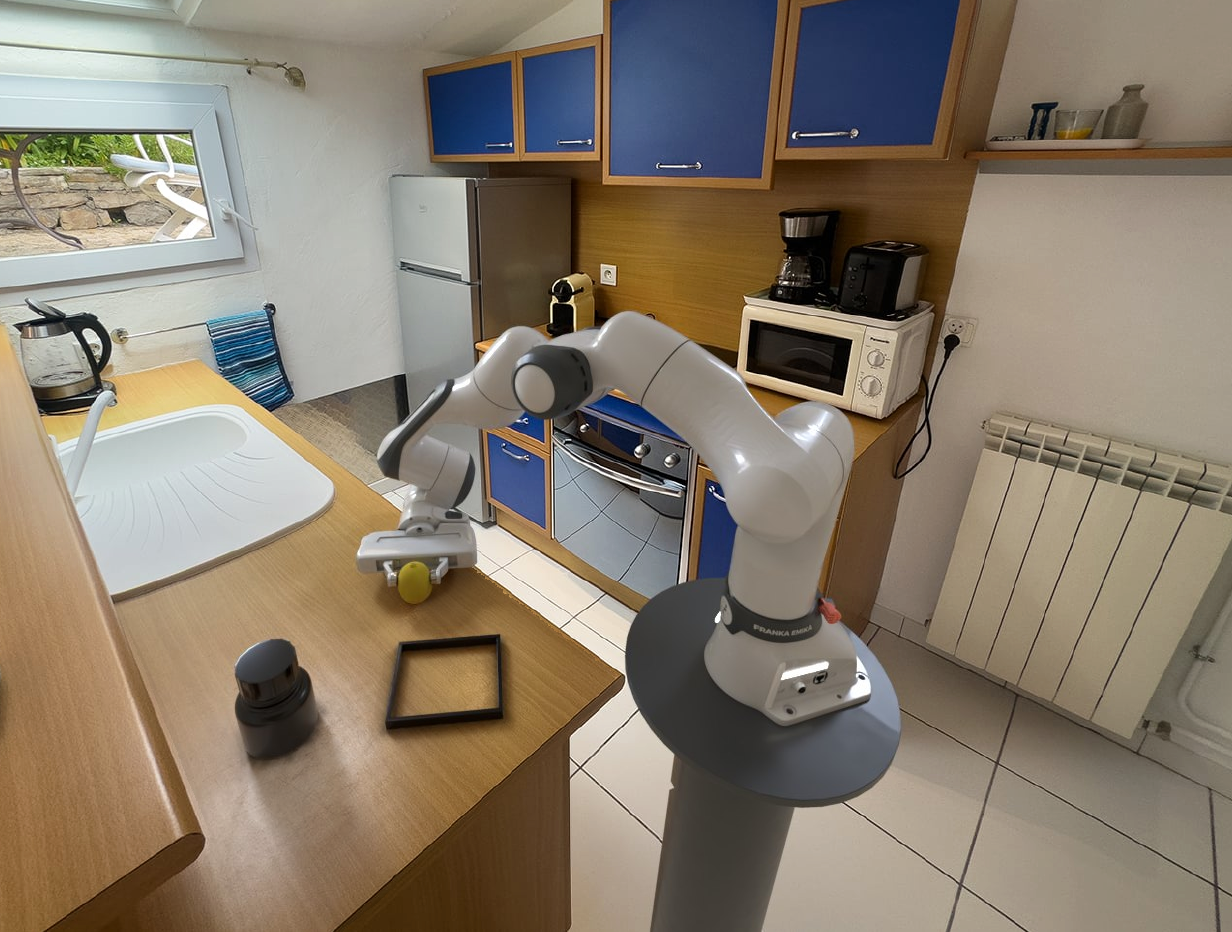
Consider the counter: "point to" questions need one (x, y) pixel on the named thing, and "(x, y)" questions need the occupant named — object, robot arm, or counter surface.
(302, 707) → the ink bottle
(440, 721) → the black square frame
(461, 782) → the counter surface
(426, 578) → the lemon
